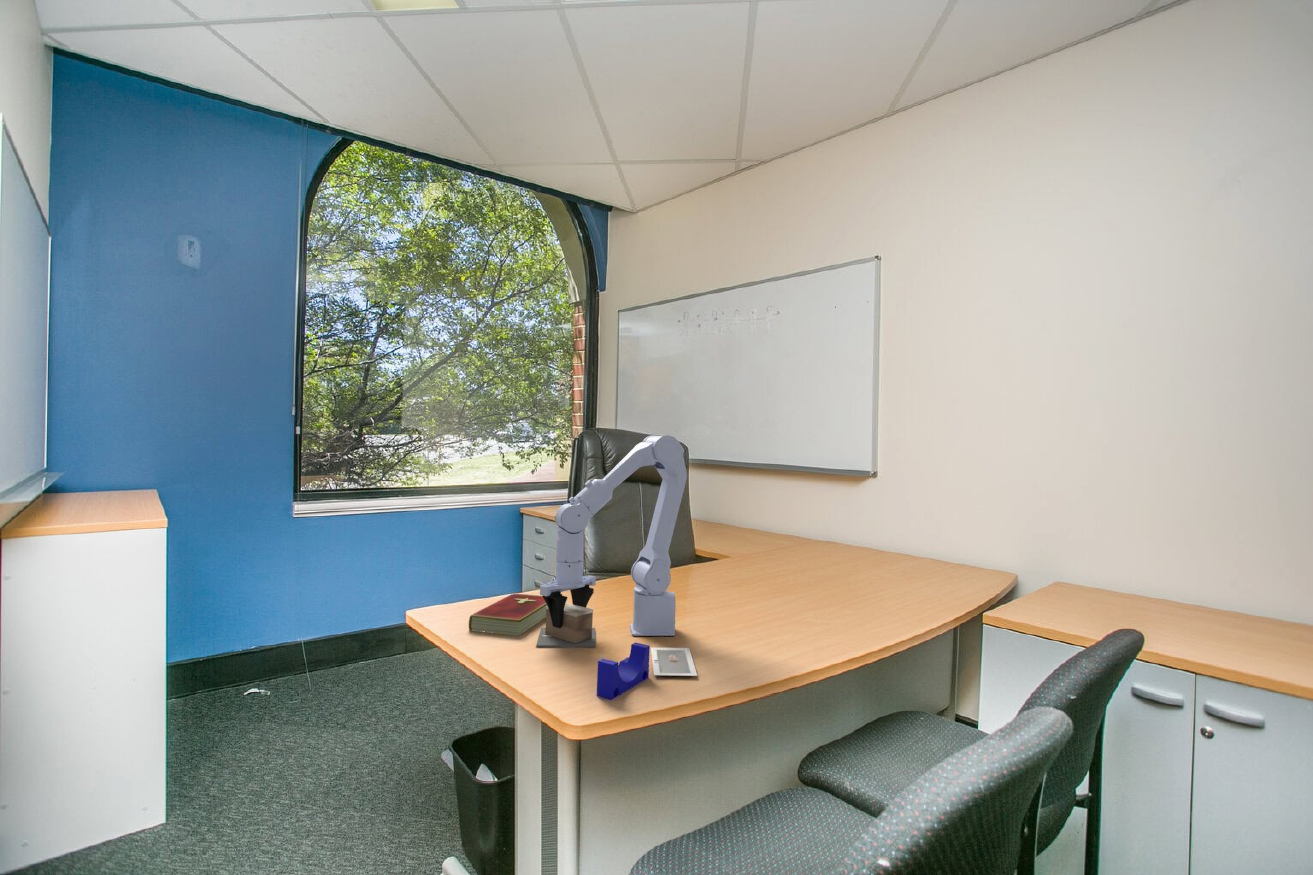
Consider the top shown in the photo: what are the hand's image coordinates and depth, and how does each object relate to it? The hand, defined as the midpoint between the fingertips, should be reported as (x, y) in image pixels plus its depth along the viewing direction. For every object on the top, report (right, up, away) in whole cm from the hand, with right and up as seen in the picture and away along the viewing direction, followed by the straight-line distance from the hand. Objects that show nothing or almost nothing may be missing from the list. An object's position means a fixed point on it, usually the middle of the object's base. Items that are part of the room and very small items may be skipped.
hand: (567, 623), depth 134 cm
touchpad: (+22, -4, -13) cm, 26 cm away
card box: (0, -3, 0) cm, 3 cm away
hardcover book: (-14, -3, +12) cm, 18 cm away
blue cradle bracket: (+13, -4, -25) cm, 28 cm away
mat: (0, -3, 0) cm, 3 cm away
